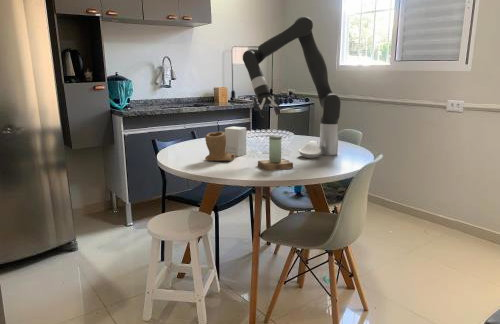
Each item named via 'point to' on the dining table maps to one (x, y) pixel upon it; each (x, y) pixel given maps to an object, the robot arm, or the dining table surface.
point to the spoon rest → (310, 150)
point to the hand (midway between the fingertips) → (270, 115)
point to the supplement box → (235, 140)
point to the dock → (275, 165)
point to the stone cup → (217, 147)
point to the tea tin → (275, 148)
